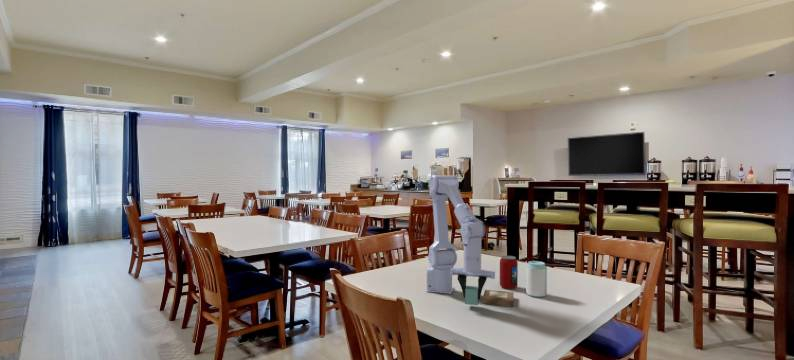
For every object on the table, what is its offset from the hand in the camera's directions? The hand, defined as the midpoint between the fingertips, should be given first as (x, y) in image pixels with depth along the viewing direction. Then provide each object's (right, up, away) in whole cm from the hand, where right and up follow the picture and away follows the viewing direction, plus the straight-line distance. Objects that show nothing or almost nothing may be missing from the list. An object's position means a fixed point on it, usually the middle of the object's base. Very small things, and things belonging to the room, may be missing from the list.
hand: (472, 298), depth 128 cm
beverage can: (+19, -3, +23) cm, 30 cm away
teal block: (0, -2, 0) cm, 2 cm away
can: (+26, -3, +14) cm, 30 cm away
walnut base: (+11, -3, +7) cm, 13 cm away
